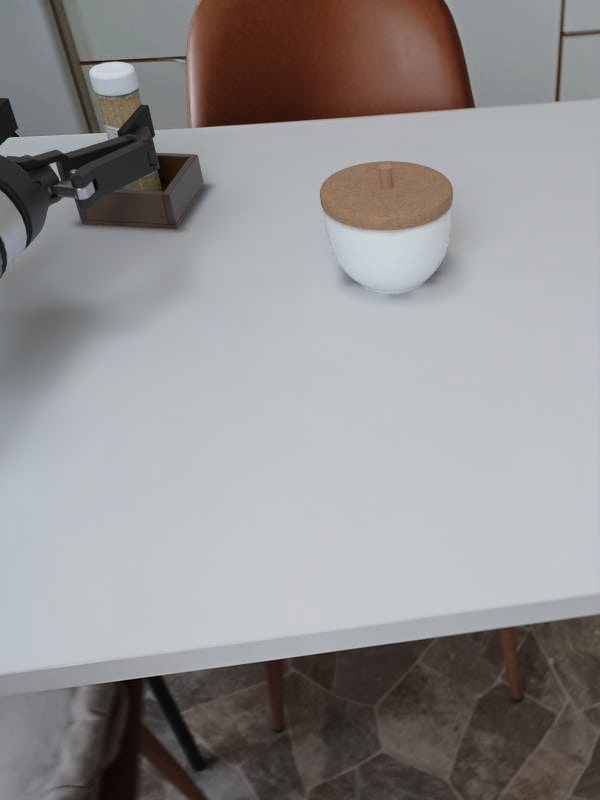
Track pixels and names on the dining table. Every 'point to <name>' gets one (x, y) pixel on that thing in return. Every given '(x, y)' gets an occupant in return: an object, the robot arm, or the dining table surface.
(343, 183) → the lidded bowl
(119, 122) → the brown spice jar
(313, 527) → the dining table surface
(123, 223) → the box
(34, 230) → the robot arm
